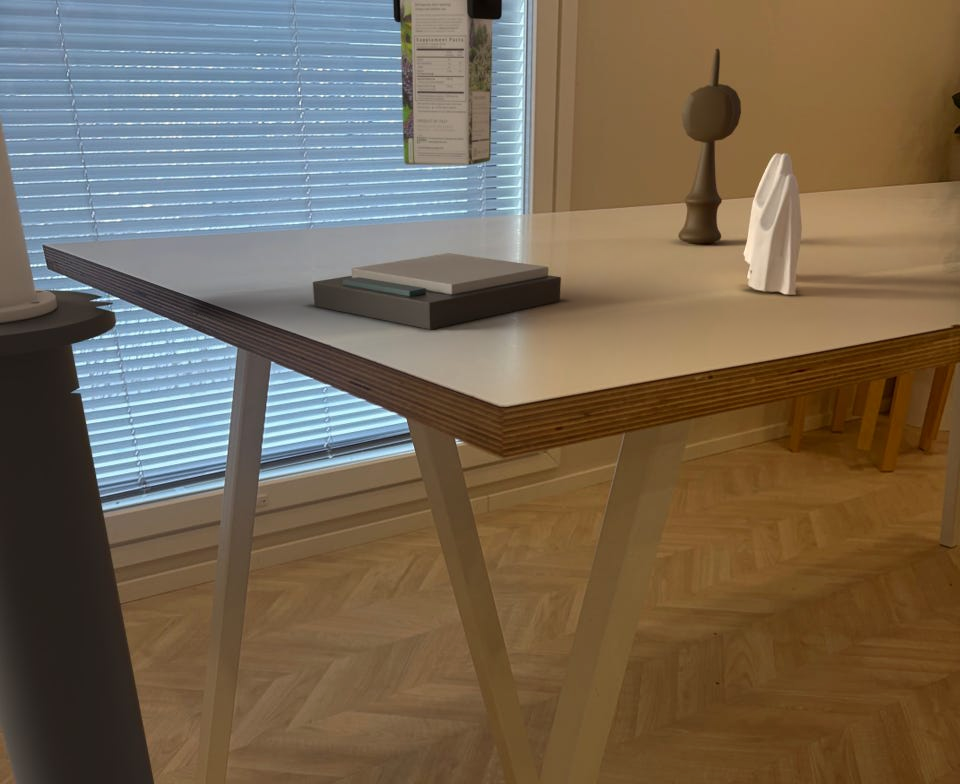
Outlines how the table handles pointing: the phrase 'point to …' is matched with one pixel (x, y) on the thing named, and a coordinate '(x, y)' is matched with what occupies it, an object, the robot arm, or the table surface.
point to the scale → (438, 290)
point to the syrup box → (445, 83)
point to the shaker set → (775, 229)
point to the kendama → (707, 152)
